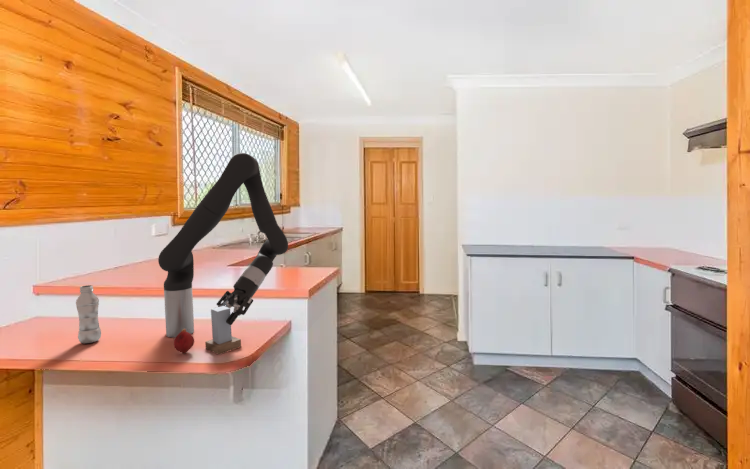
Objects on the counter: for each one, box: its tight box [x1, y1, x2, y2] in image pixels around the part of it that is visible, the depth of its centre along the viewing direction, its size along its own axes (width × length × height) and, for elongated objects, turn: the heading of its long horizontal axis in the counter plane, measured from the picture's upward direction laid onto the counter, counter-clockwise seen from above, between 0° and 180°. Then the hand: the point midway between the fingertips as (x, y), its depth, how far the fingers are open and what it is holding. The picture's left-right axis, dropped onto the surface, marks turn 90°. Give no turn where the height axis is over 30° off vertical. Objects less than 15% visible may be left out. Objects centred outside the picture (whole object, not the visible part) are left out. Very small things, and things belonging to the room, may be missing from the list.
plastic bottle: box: [75, 284, 102, 344], centre depth 126 cm, size 6×7×20 cm
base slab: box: [205, 335, 242, 355], centre depth 121 cm, size 8×8×3 cm
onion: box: [173, 329, 195, 354], centre depth 116 cm, size 6×6×8 cm
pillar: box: [210, 305, 233, 344], centre depth 120 cm, size 4×4×11 cm
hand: (221, 321), depth 120 cm, fingers open, 8 cm apart
